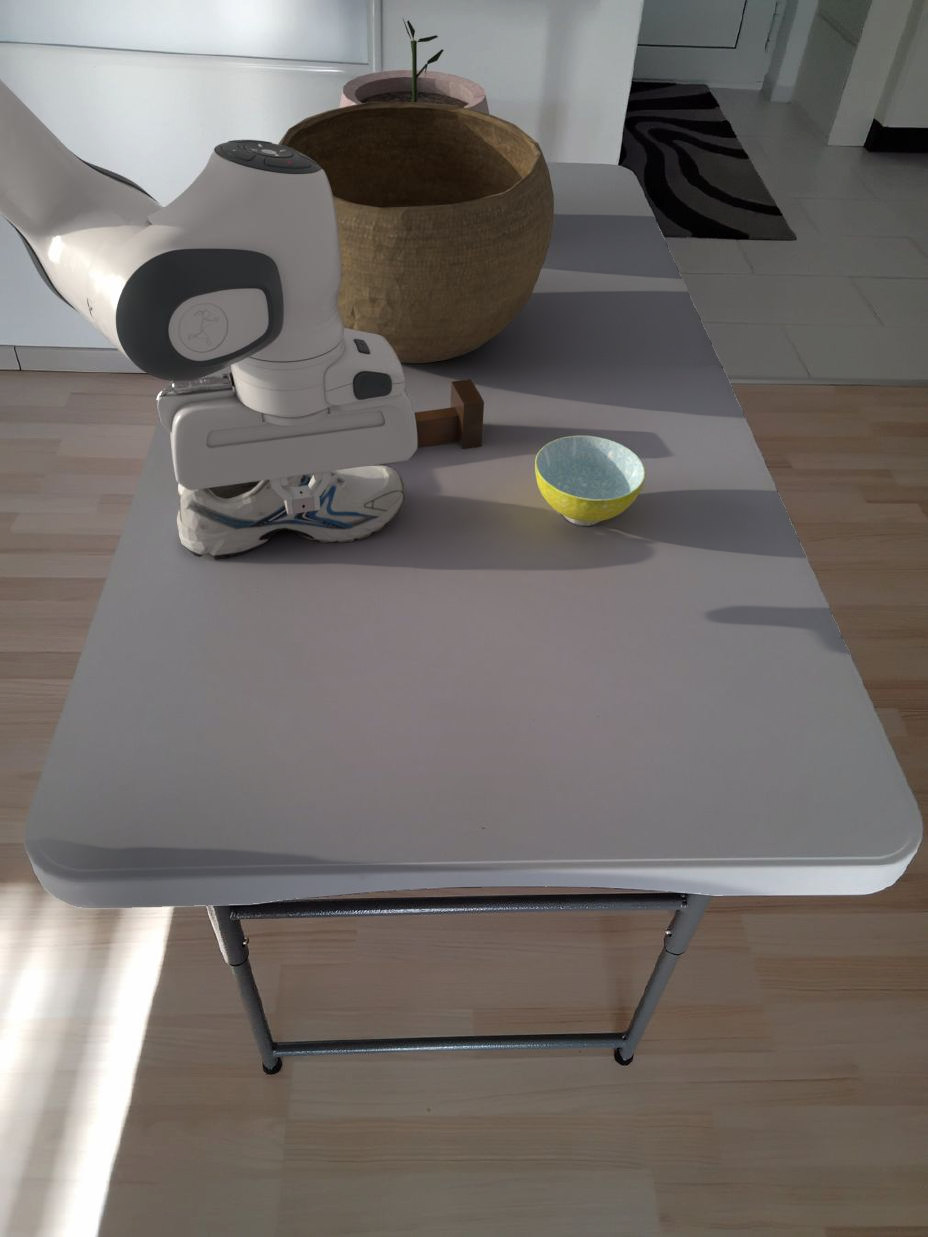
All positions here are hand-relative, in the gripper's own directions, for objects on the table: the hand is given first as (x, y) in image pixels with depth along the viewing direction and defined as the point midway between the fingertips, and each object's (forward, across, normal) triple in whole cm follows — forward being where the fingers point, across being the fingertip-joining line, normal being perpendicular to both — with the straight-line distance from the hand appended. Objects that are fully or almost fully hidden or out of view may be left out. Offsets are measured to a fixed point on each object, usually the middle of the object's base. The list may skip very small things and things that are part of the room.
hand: (302, 508), depth 82 cm
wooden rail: (+10, +8, +22) cm, 26 cm away
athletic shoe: (+11, 0, +11) cm, 15 cm away
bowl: (+10, +30, +5) cm, 33 cm away
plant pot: (+10, +32, +79) cm, 86 cm away
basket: (+10, +22, +47) cm, 53 cm away
